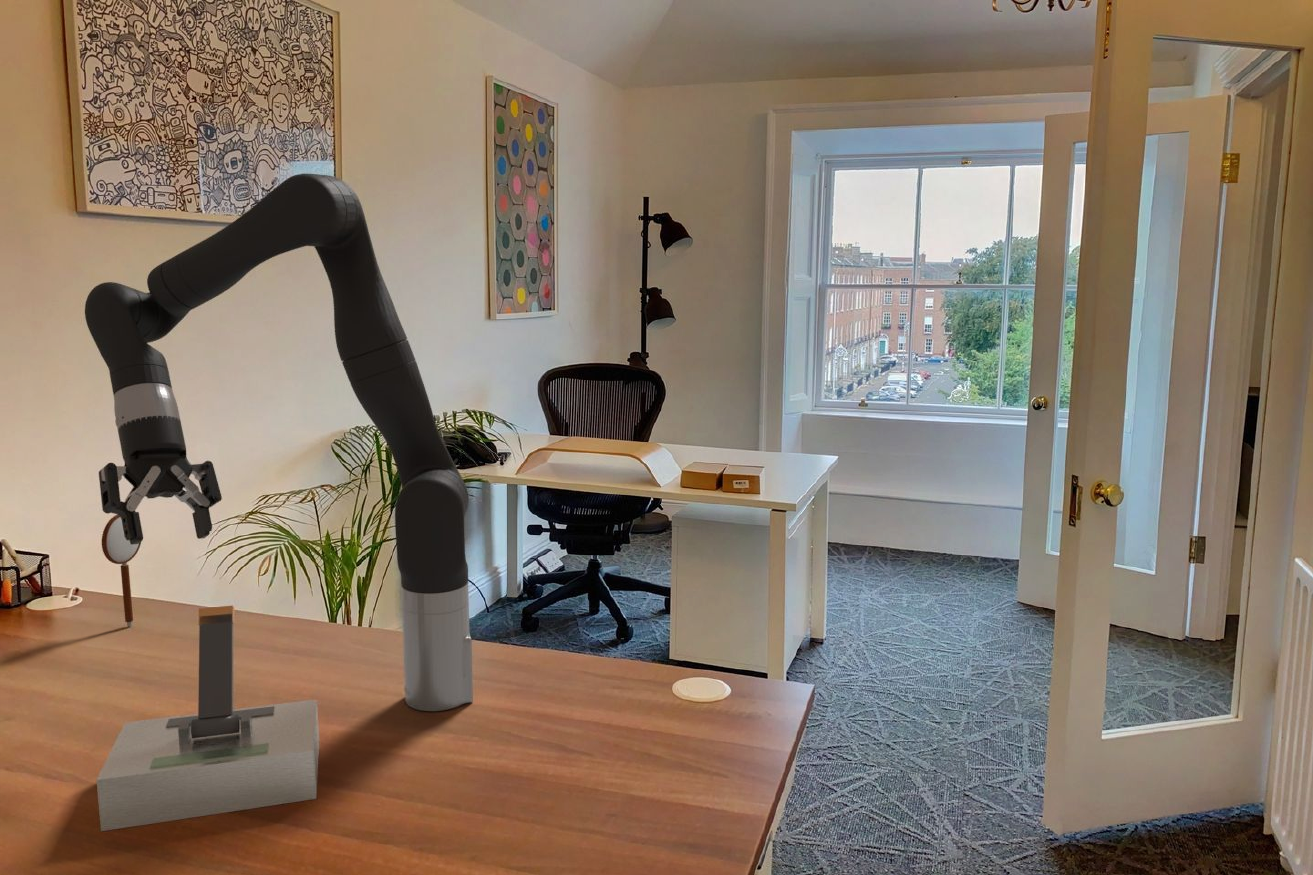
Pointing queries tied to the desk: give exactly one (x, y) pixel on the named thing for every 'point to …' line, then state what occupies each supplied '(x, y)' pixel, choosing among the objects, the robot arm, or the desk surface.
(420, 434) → the robot arm
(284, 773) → the breaker box
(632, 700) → the desk surface
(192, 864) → the desk surface
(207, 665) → the breaker lever
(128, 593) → the magnifying glass
